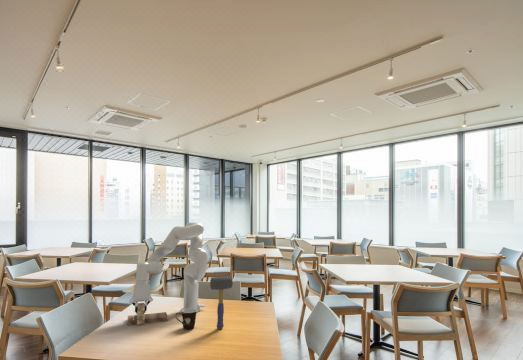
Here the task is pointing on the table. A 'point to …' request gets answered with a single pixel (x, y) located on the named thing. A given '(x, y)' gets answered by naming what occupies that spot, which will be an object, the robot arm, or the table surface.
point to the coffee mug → (188, 318)
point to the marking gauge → (140, 313)
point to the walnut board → (149, 318)
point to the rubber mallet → (220, 294)
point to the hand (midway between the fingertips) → (140, 312)
